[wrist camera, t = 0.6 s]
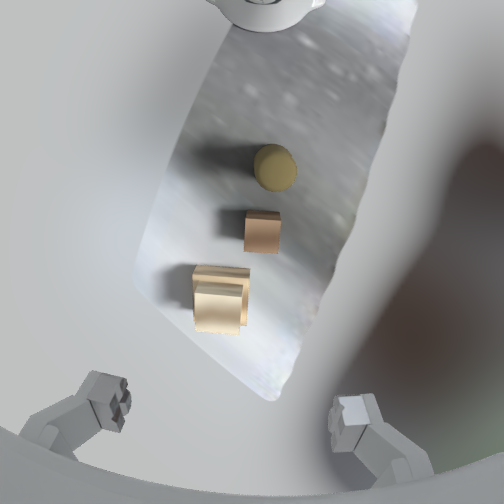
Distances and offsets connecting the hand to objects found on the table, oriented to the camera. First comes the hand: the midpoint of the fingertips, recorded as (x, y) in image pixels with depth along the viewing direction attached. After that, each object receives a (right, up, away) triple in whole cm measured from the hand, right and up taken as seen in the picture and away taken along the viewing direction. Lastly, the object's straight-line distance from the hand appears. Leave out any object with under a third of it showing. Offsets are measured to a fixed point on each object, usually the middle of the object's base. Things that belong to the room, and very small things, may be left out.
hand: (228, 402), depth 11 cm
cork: (+4, +19, +35) cm, 40 cm away
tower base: (-4, -1, +43) cm, 44 cm away
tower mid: (-4, -2, +40) cm, 40 cm away
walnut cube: (+2, +10, +39) cm, 40 cm away
